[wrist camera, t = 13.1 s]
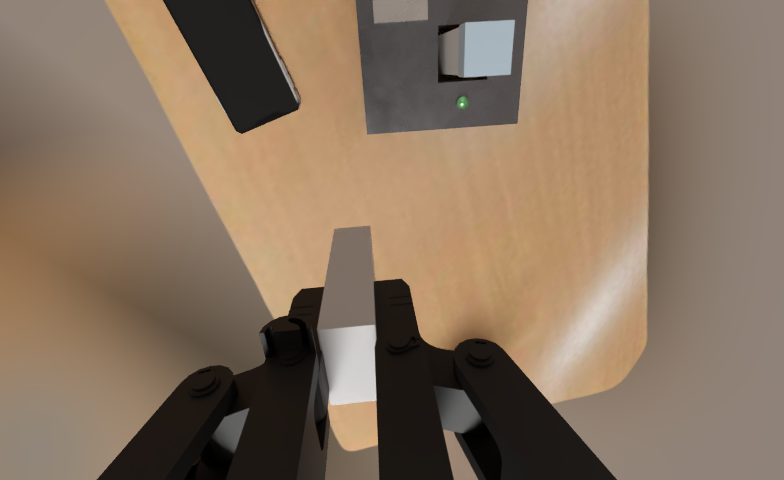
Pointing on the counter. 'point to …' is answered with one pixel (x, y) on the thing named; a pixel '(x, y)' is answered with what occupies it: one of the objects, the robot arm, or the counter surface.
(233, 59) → the smartphone
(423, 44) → the panel
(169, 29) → the counter surface
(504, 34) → the plug
